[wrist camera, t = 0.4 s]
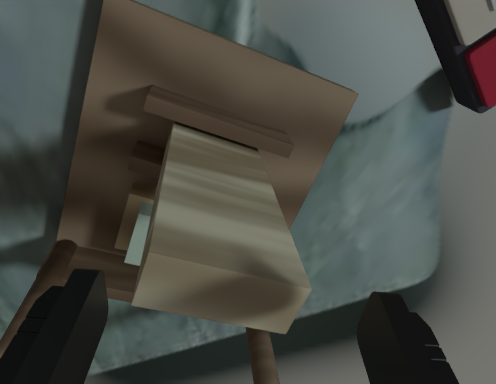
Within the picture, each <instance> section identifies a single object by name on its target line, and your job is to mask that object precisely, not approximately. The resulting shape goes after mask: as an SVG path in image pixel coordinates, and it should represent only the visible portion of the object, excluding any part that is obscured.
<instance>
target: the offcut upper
mask: <svg viewBox="0 0 496 384" xmlns="http://www.w3.org/2000/svg"><path fill="white" fill-rule="evenodd" d="M152 208H153V203H149V202H145V201H142V204H141V207H140V210H139V214H138V217H137V220H136V224H135V227H134V230H133V234H132V237H131V240H130V244H129V247H128V251H127V254H126V258H125V261H124V263H128V264H133V265H138V266H140V263H141V259H142V254H143V250H144V245H145V240H146V236H147V231H148V226H149V222H150V217H151V213H152Z"/></svg>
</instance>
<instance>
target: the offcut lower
mask: <svg viewBox="0 0 496 384" xmlns="http://www.w3.org/2000/svg"><path fill="white" fill-rule="evenodd" d="M156 190H157V189H155V188H151V187H148V186H144V185H141V184H137V183H133V185H132V188H131V191H130V193H129V197H128V201H127V204H126V208H125V211H124V215H123V219H122V222H121V226H120V229H119V233H118V236H117V240H116V244H115V247H114V248H117V249H121V250H126V251H128V247H129V244H130V240H131V237H132V234H133V230H134V227H135V224H136V220H137V217H138V214H139V210H140V207H141V204H142V201H145V202H149V203H154V199H155V194H156Z"/></svg>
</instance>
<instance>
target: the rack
mask: <svg viewBox="0 0 496 384" xmlns="http://www.w3.org/2000/svg"><path fill="white" fill-rule="evenodd" d="M357 97H358V93H356V92H355V91H353V90H351V89H349V88H346V87H344V86H341V85H339V84H337V83H334V82H332V81H329V80H327V79H324V78H322V77H319V76H317V75H314V74H312V73H310V72H307V71H305V70H302V69H300V68H297V67H295V66H293V65H290V64H288V63H285V62H283V61H280V60H278V59H276V58H273V57H271V56H268V55H266V54H263V53H261V52H258V51H256V50H254V49H251V48H249V47H246V46H244V45H241V44H239V43H236V42H234V41H232V40H229V39H227V38H224V37H222V36H219V35H217V34H214V33H212V32H210V31H207V30H205V29H202V28H200V27H197V26H195V25H192V24H190V23H188V22H185V21H183V20H180V19H178V18H175V17H173V16H170V15H168V14H166V13H163V12H161V11H158V10H156V9H153V8H151V7H148V6H146V5H144V4H141V3H139V2H136V1H134V0H103V5H102V10H101V15H100V21H99V26H98V31H97V36H96V41H95V46H94V51H93V56H92V61H91V66H90V72H89V77H88V82H87V87H86V92H85V97H84V102H83V107H82V112H81V117H80V123H79V128H78V133H77V138H76V143H75V148H74V153H73V158H72V163H71V168H70V173H69V179H68V184H67V189H66V194H65V199H64V204H63V209H62V214H61V219H60V224H59V230H58V235H57V240H56V242H55V244H54V246H53V247H52V249H51V251H50V253H49V254H48V256H47V258H46V259H45V261H44V263H43V265H42V266H41V268H40V270H39V272H38V273H37V277H36V280H35V281H34V283H33V285H32V286H31V288H30V290H29V292H28V293H27V295H26V297H25V299H24V300H23V302H22V304H21V306H20V307H19V309H18V311H17V313H16V314H15V316H14V318H13V319H12V321H11V323H10V325H9V326H8V328H7V330H6V332H5V333H4V335H3V337H2V339H1V340H0V358H1V357H2V355H3V353H4V352H5V350H6V348H7V347H8V345H9V343H10V342H11V340H12V338H13V337H14V335H16V334H17V330H18V329H19V327H20V325H21V324H22V322H23V320H25V319H26V315H27V314H28V312H29V310H30V309H31V307H32V305H33V304H34V302H35V300H36V299H37V298H38V297H40V296H41V295H42V294H43V293H44V292H46V291H47V290H48V289H49V288H50V287H51V286H65V284H66V282H67V280H68V278H69V276H70V275H71V273H72V271H73V270H74V269H76V268H80V269H94V270H103V271H104V274H105V282H106V290H107V298H110V299H116V300H121V301H126V302H132V300H133V296H134V291H135V286H136V282H137V277H138V273H139V268H140V266H138V265H133V264H128V263H124V261H125V258H126V254H127V251H126V250H121V249H117V248H114V247H115V244H116V240H117V236H118V233H119V229H120V226H121V222H122V219H123V215H124V211H125V208H126V204H127V201H128V197H129V193H130V191H131V188H132V185H133V183H137V184H141V185H144V186H148V187H151V188H155V189H157V185H158V180H159V176H160V171H161V167H162V162H163V157H164V153H165V148H166V144H167V140H168V137H169V134H170V131H171V127H172V124H173V121H176V122H179V123H182V124H185V125H189V126H192V127H195V128H198V129H201V130H204V131H207V132H210V133H213V134H216V135H219V136H222V137H225V138H228V139H231V140H234V141H237V142H240V143H243V144H246V145H249V146H252V147H255V148H257V149H258V152H259V154H260V157H261V159H262V162H263V165H264V167H265V170H266V172H267V175H268V177H269V180H270V183H271V185H272V188H273V190H274V193H275V195H276V198H277V201H278V203H279V206H280V208H281V211H282V213H283V216H284V219H285V221H286V224H287V226H288V229H289V230H290V228H291V226H292V224H293V222H294V220H295V218H296V216H297V214H298V212H299V210H300V208H301V206H302V204H303V202H304V200H305V198H306V196H307V194H308V192H309V190H310V189H311V187H312V185H313V183H314V181H315V179H316V177H317V175H318V173H319V171H320V169H321V167H322V165H323V163H324V161H325V159H326V157H327V155H328V153H329V151H330V149H331V147H332V145H333V144H334V142H335V140H336V138H337V136H338V134H339V132H340V130H341V128H342V126H343V124H344V122H345V120H346V118H347V116H348V114H349V112H350V110H351V108H352V106H353V104H354V102H355V100H356V99H357ZM246 333H247V340H248V346H249V353H250V360H251V367H252V374H253V381H254V384H280V382H279V378H278V373H277V368H276V364H275V359H274V354H273V349H272V345H271V340H270V335H269V331H266V330H260V329H255V328H249V327H246Z"/></svg>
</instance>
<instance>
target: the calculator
mask: <svg viewBox="0 0 496 384" xmlns="http://www.w3.org/2000/svg"><path fill="white" fill-rule="evenodd" d="M415 3H416V5H417V8H418V10H419V12H420V15H421V17H422V20H423V22H424V24H425V27H426V29H427V32H428V34H429V37H430V39H431V42H432V44H433V46H434V49H435V51H436V54H437V56H438V59H439V61H440V63H441V66H442V67H443V68H444V70H445V73H446V75H447V78H448V80H449V83H450V85H451V87H452V90H453V92H454V98H455V100H456V102H457V103H459V104H461V105H463V106H465V107H467V108H469V109H471V110H473V111H475V112H477V113H483V112H485V111H487V110H489V109H490V108H492V107H493V106H495V105H496V0H415Z"/></svg>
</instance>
